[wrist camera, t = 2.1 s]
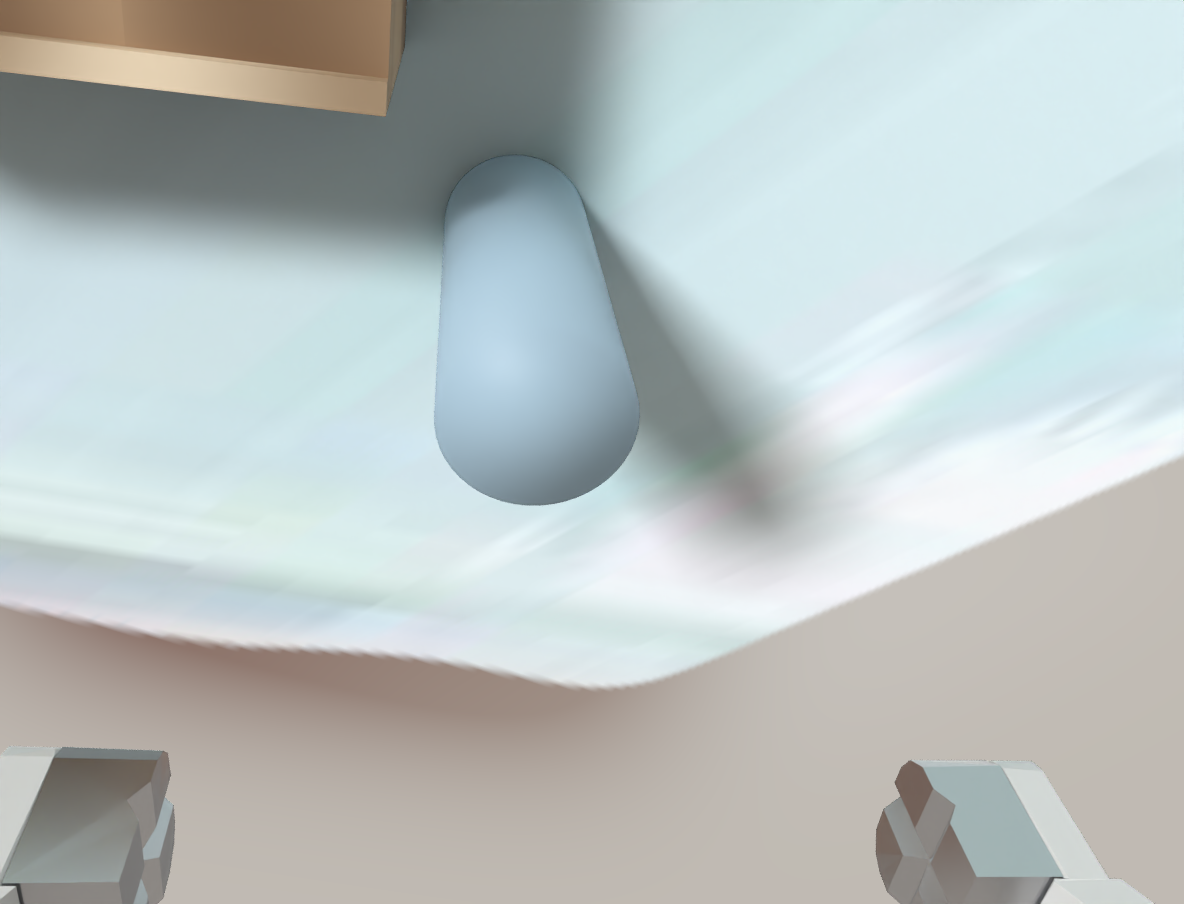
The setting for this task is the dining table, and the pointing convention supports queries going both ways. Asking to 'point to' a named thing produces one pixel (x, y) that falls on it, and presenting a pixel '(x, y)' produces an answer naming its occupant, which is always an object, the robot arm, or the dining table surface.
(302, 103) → the socket block
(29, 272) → the dining table surface
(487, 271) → the dowel
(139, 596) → the dining table surface
